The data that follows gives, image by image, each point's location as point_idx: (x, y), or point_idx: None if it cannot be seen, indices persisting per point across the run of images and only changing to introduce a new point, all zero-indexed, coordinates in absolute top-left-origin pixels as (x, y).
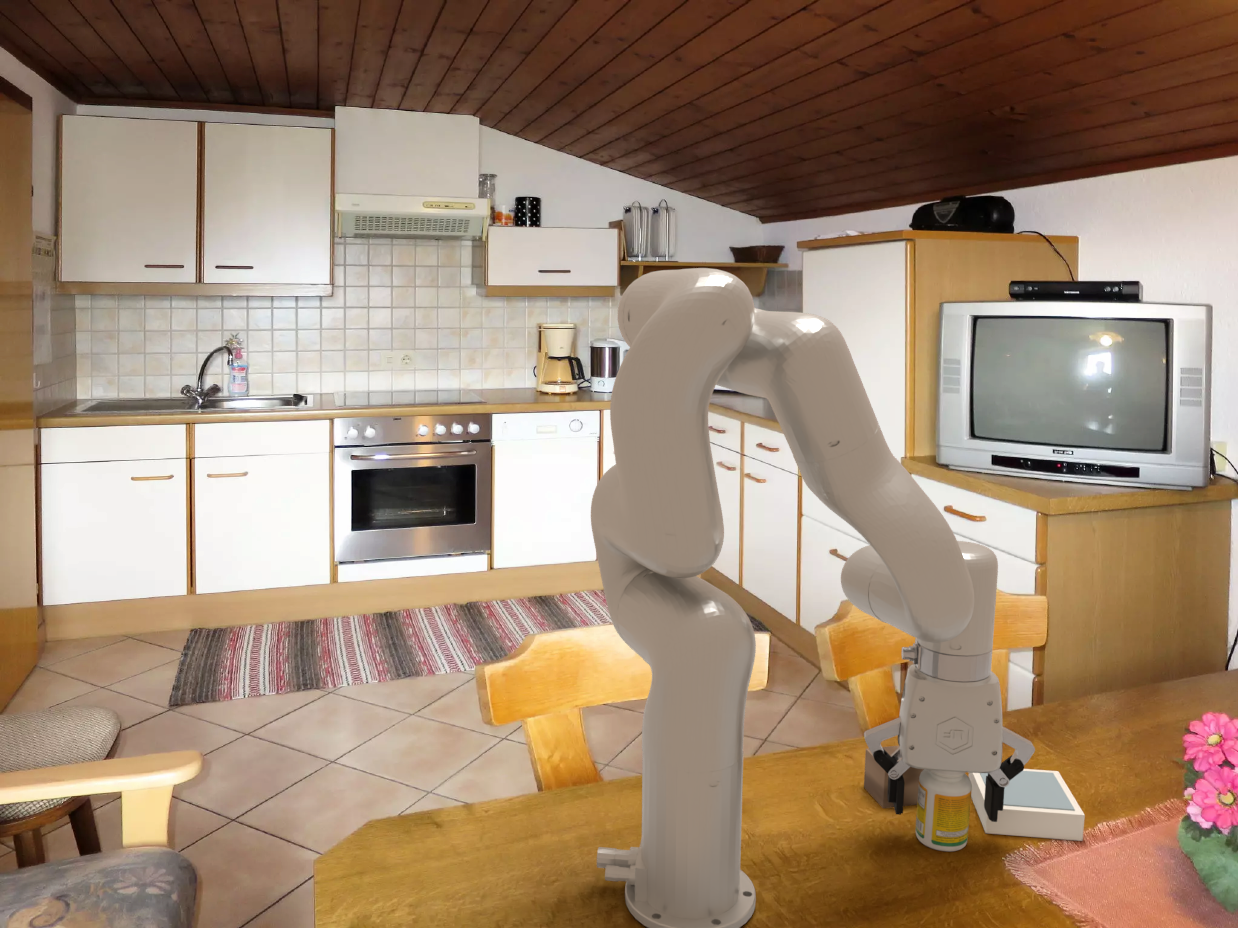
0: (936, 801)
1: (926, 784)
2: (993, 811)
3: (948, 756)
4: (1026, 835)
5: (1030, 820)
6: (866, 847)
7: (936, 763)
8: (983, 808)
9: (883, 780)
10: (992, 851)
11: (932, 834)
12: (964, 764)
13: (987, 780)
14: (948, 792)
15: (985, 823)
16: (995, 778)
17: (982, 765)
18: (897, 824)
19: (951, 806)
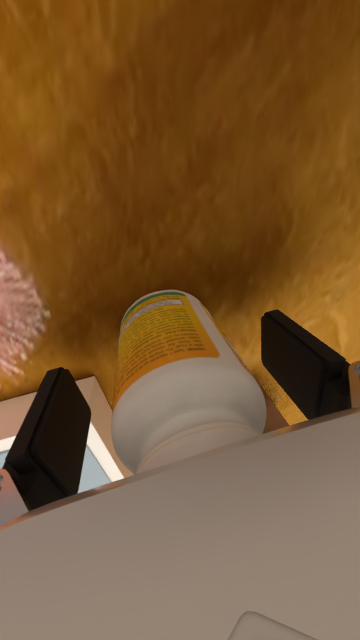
0: (207, 342)
1: (253, 381)
2: (50, 384)
3: (267, 564)
4: (24, 395)
5: (6, 422)
6: (293, 250)
7: (305, 466)
8: (101, 419)
9: (278, 411)
10: (71, 327)
11: (187, 300)
12: (137, 530)
13: (70, 478)
14: (182, 369)
15: (95, 390)
16: (9, 496)
17: (15, 573)
18: (234, 342)
19: (162, 342)
